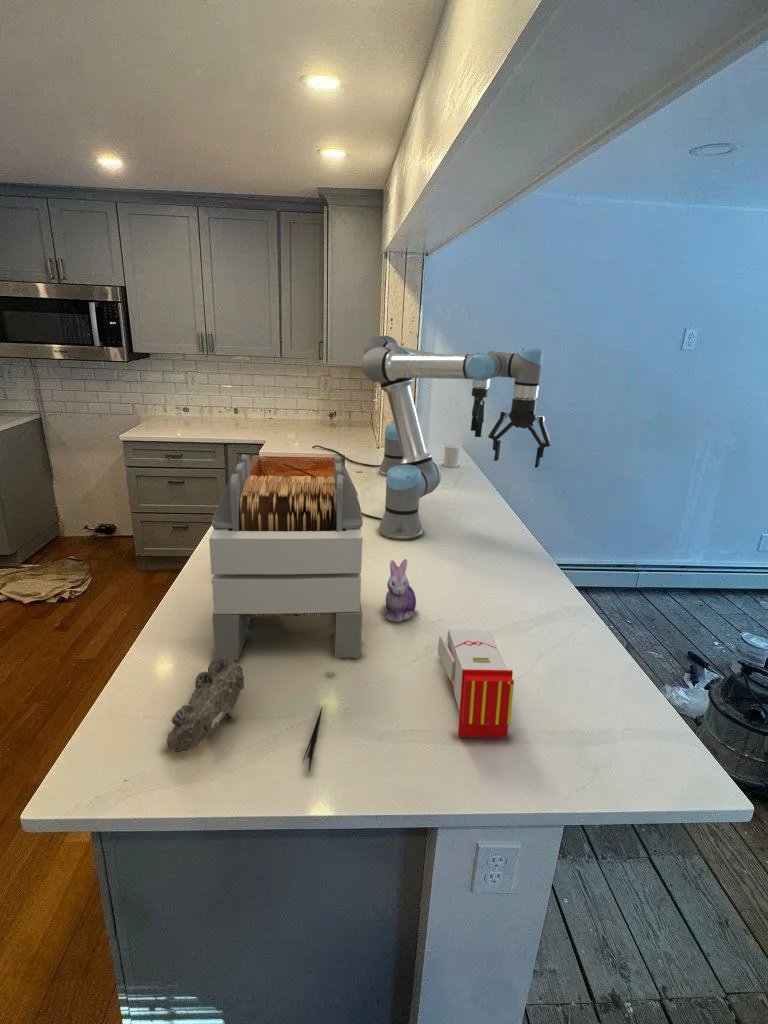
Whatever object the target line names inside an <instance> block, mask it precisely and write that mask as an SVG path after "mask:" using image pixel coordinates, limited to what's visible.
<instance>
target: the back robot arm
mask: <svg viewBox="0 0 768 1024" xmlns="http://www.w3.org/2000/svg"><path fill="white" fill-rule="evenodd" d="M388 346H398V347H400V345H399V343H398V341H397V340H396V339H395V338H393V337H392V336H389V335H379V336H378V335H377V336H371V337H370V338H368V339H367V340H366V342H365V343H364V346H363V353H364V355H365V354H366V353H367V352H368V351H369V350H371V349H373V348H376V347H388ZM402 347H403V348H405V349H406V350H408V351H409V353H410V354H436V353H435V352H430V351H425V350H420V349H414V348H411V347H410V348H409V347H404V346H402ZM482 352H483V351H482ZM482 352H479V351H478V352H476V353H475V354H482ZM491 383H492V381H491V378H489V379H487V380H483V381H477V380H474V379H472V388H471V397H473V400H474V401H473V406H472V410H471V423H470V431H471V432H474V438H482V430H483V423H484V420H485V419H484V418H485V417H484V416H485V402H486V401H485V400H484V398H488V397H489V392H490V390H489V388H490V384H491ZM420 429H421V433H422V432H423V431H422V427H421V426H420ZM422 434H423V433H422ZM314 448H320V449H323V450H327V451H330V452H333V453H336V454H337V455H338V456H340V457H341V458H343V459H345V460H347V461H348V462H349V463H353V464H355V465H361V466H365V467H374V468H379V474H380V475H382V476H384V477H387V473H388V471H389V469H391V468H392V467H394V466H397V465H399V466H400V465H401V464H400V463H401V461H402V459H403V455H402V451H401V447H400V443H399V439H398V435H397V431H396V427H395V423H394V419H393V420H392V422H391V423H390V424H388V425H386V427H385V431H384V448H383V449H384V451H383V453H384V454H383V458H382V461H381V464H369V463H363V462H359V461H354V460H352V459H350V458H348V457H346V456H345V455H344V454H342V453H341V452H339V451H337V450H335V449H332V448H327V447H325V446H321V445H317V444H315V445H313V446H312V447H311V449H314Z"/></svg>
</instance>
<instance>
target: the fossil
mask: <svg viewBox="0 0 768 1024" xmlns="http://www.w3.org/2000/svg"><path fill="white" fill-rule="evenodd" d="M243 670H244V669H243V667H242V665H240V664H237V662H236V660H232V659H231V660H228V659H227V660H221V661H217V660H215V659H212V660H211V661H210V663H209V665H208V666H207V671H201V672H199V673H198V674H197V675H196V676H195V680H194V684H195V685H194V687H195V689H194V690H193V693H192V694H191V697H190V698H189V700H188V704H184V705H182V706H181V707H180V709H177V710H176V711H175V713H174V715H173V716H172V718H171V723H172V724H173V727H172V730H171V731H170V732H168V734H167V738H166V741H167V742H166V745H167V749H168V750H169V751H173V752H174V753H176V754H178V753H182V752H188V751H189V752H192V751H193V750H195V748H196V747H197V746H199V744H200V743H201V742H203V741H204V740H205V739H206V738H207V737H208V736H209V735H210V734H211V733H212V732H214V730H215V729H217V727H218V726H219V724H220V722H221V721H222V720H223V719H224V718H225V716H226V717H227V719H229V720H233V717H232V715H230V714H229V710H230V709H231V708H234V706H235V704H236V703H237V702H238V699H239V697H240V695H241V693H242V691H243V690H245V689H244V688H245V675H244V671H243Z"/></svg>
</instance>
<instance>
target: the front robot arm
mask: <svg viewBox="0 0 768 1024" xmlns="http://www.w3.org/2000/svg"><path fill="white" fill-rule="evenodd" d="M398 346H399V345H398ZM398 346H388V347H376V348H373V349H371V350H369V351H368V352H367V353H366V354H364V355H363V357H362V360H361V361H362V362H361V368H362V372H363V374H364V375H365V377H366V378H367V379H368V380H369V381H371V382H374V383H379V385H380V390H381V391H383V392H385V394H386V397H387V400H388V403H389V408H390V410H391V415H392V419H393V420H394V423H395V427H396V431H397V435H398V439H399V443H400V447H401V451H402V455H403V459H402V461H401V463H400V464H401V465H400V466H399V465H397V466H394V467H392V468H391V469H389V471H388V473H387V476H386V479H385V504H384V505H385V507H384V508H385V509H384V513H383V515H382V517H378V516H375V515H370V514H366V513H365V512H362V511H361V514H362V516H364V517H367V518H370V519H375V520H379V521H381V522H379V526H378V533H379V534H380V535H381V536H382V537H385V538H387V539H389V540H395V541H410V540H415V539H418V538H420V537H421V536H422V535H423V525H422V524H421V518H420V515H419V507H420V506H419V505H420V504H419V503H420V499H421V498H423V497H424V496H426V495H430V493H433V492H434V491H435V490H436V489H437V488H438V486H440V483H441V481H442V471H441V469H440V467H439V465H438V463H435V462H434V460H433V456H432V454H430V453H429V452H428V451H427V450H426V446H425V442H424V438H423V433H421V431H422V428H421V429H420V427H421V426H420V422H419V418H418V414H417V410H416V406H415V402H414V398H413V397H414V396H413V394H412V390H411V386H412V383H413V381H414V379H437V380H438V379H439V380H441V379H444V380H473V379H474V380H477V381H483V380H487V379H489V378H490V379H494V378H499V377H500V378H509V379H514V384H513V391H512V397H513V398H512V400H511V407H510V412H508V411H506V410H502V411H500V415H499V418H498V420H497V421H496V423H495V424H494V426H493V427H492V430H491V431H490V433H489V434H488V435H487V437H488V439H491V440H492V450H493V451H494V458H493V461H494V462H497V461H498V460H499V459H500V451H501V444H502V440H501V438H502V437H503V436H504V435H505V434H506V433H507V432H508V431H509V430H510V429H511V428H512V427H515V428H517V429H518V428H520V429H528V431H529V432H530V433H531V435H532V436H533V438H534V439H535V441H536V442H537V444H538V446H537V449H536V455H535V463H534V468H538V467H540V464H541V463H540V462H541V458H543V457H544V456H545V452H546V451H545V450H546V448H550V447H551V446H552V445H553V444H552V440H551V437H550V434H549V431H548V427H547V425H546V422H545V421H546V417H545V415H536V409H537V400H536V399H537V398H538V393H539V385H540V378H541V373H542V372H541V371H542V366H543V350H542V349H541V348H538V347H527V346H526V347H525V346H524V347H522V346H521V347H519V348H518V351H517V353H516V352H515V353H512V352H502V351H495V350H487V351H486V350H485V351H482V354H476V353H435V354H410V353H409V351H408V350H406V349H405V348H406V347H404V346H399V347H398ZM403 347H404V348H403ZM507 418H509V419H510V422H509V423H507V425H506V426H504V427H503V429H502V430H500V432H498V430H499V429H500V428H501V426H502V425H503V423H504V421H505V420H506V419H507ZM535 421H536V422H537V424H539V429H540V433H541V434H540V433H539V431H538V429H536V426H535V424H534V422H535ZM497 432H498V433H497ZM496 433H497V434H496ZM541 435H542V436H541ZM282 466H286V467H288V468H290V469H293V470H295V471H298V472H301V473H303V474H305V475H308V476H311V478H312V477H313V478H314V477H315V479H316V477H317V476H316V475H313V474H312V473H309V472H307V471H305V470H302V469H299V468H297V467H295V466H292V465H289V464H286V463H284V462H283V463H282Z"/></svg>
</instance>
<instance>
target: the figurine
mask: <svg viewBox="0 0 768 1024" xmlns="http://www.w3.org/2000/svg"><path fill="white" fill-rule="evenodd" d="M407 567H408V559H406V558H404V559H403V560H402V561H401V563H400V565H399V566H398V565H397V563H396V562H395V561H394V560H393V559H391V560H390V561H389V570H390V576H389V578H388V579H387V589H388V591H387V592H386V594H385V595H386V596H385V607H384V615H385V616H386V620H387V621H391V622H395V623H400V622H402V621H406V620H409V619H410V618H411V617H413V616H414V615H415V610H416V606H417V597H416V593H415V591H414V590H413V587H411V586H410V582H409V579H408V577H407V574H406V571H407Z"/></svg>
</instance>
